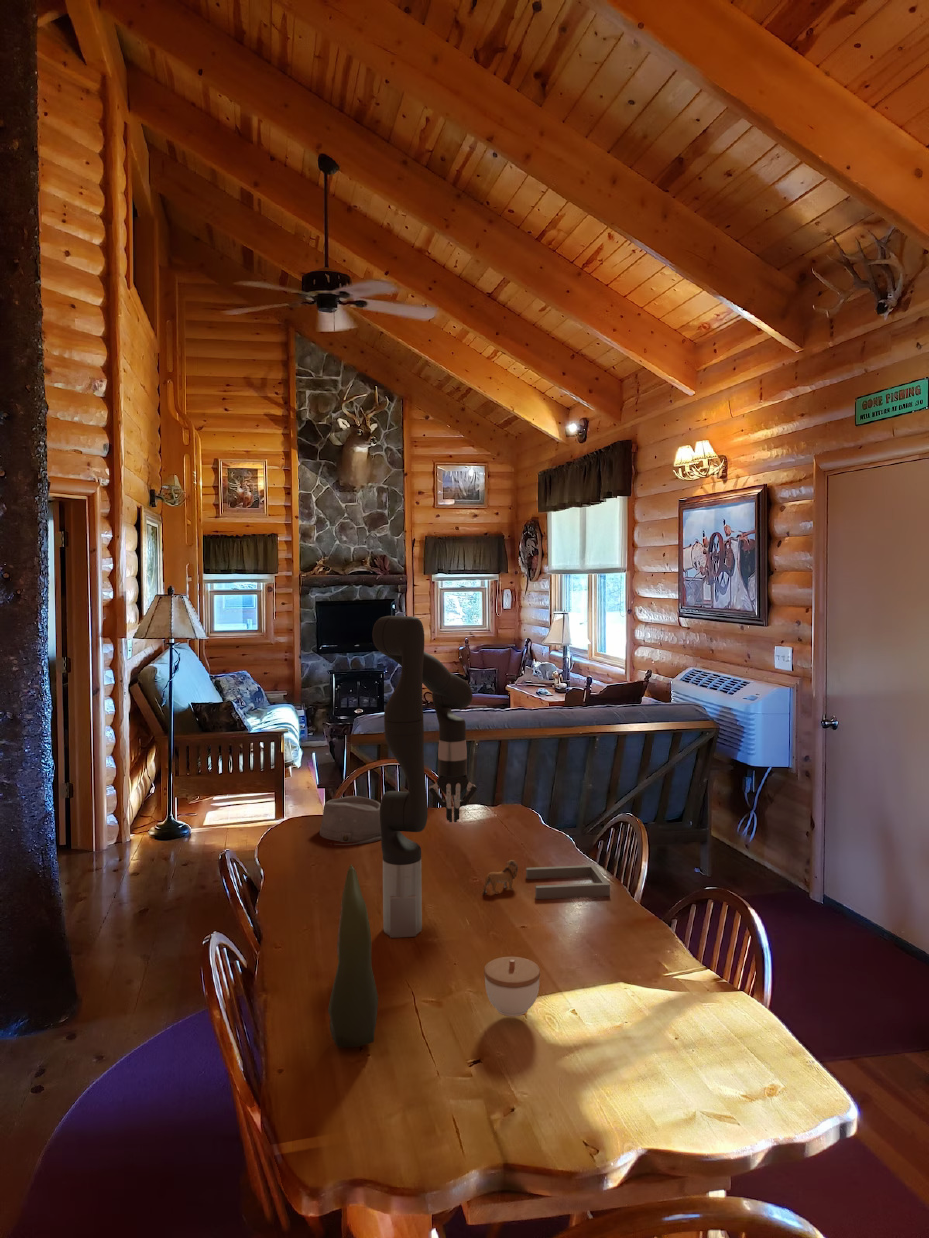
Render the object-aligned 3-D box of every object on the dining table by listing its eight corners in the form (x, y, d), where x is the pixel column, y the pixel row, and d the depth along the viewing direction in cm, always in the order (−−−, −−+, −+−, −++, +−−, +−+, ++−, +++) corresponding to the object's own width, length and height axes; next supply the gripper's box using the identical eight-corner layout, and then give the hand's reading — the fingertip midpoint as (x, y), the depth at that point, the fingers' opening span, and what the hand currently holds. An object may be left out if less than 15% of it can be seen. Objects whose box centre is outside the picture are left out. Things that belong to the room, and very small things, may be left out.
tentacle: (374, 1017, 152) (372, 860, 151) (383, 1053, 140) (381, 883, 139) (325, 1023, 150) (323, 865, 149) (330, 1061, 138) (328, 889, 137)
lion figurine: (511, 883, 221) (511, 856, 220) (522, 887, 217) (522, 860, 217) (478, 893, 213) (477, 866, 213) (488, 898, 210) (488, 870, 209)
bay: (609, 895, 211) (609, 884, 211) (536, 899, 209) (536, 887, 209) (594, 875, 226) (594, 864, 226) (526, 878, 224) (526, 867, 224)
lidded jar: (474, 1014, 153) (474, 966, 153) (498, 989, 162) (498, 943, 162) (526, 1028, 148) (526, 978, 148) (548, 1001, 158) (548, 954, 157)
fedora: (332, 823, 278) (332, 787, 278) (404, 831, 269) (404, 794, 268) (294, 844, 255) (293, 805, 255) (372, 853, 246) (371, 813, 245)
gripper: (427, 760, 208) (428, 826, 209) (479, 758, 210) (479, 824, 210) (426, 754, 216) (426, 818, 217) (476, 753, 217) (476, 816, 218)
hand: (452, 821), depth 213 cm, fingers closed
